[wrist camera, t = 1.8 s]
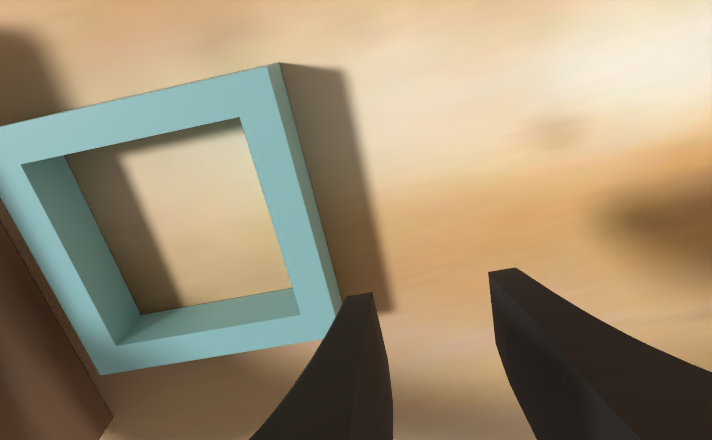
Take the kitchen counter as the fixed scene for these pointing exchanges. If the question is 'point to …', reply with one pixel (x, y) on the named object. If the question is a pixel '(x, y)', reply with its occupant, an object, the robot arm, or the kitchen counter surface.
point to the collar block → (95, 262)
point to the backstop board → (40, 365)
